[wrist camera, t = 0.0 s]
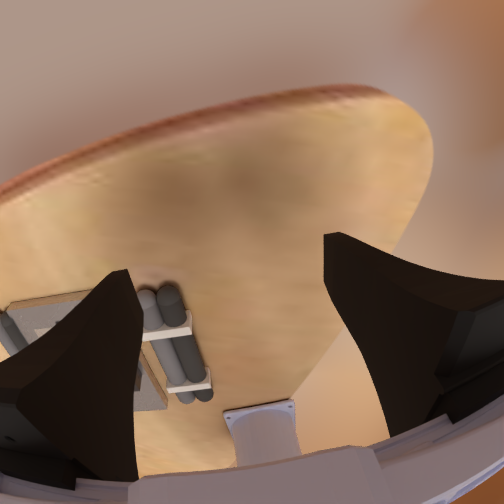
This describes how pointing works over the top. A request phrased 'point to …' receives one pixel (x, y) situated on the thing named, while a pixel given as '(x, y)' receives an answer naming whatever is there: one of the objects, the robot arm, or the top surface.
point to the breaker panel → (55, 309)
